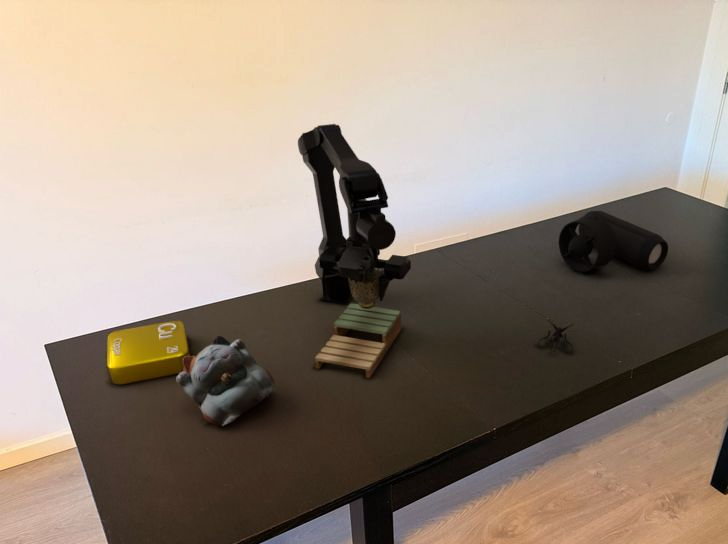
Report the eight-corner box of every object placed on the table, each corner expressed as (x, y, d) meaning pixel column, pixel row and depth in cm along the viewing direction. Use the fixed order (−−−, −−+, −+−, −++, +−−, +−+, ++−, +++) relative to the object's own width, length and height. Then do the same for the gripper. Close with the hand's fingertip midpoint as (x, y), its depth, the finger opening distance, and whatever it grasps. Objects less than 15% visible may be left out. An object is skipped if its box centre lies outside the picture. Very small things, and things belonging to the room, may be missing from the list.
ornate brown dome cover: (378, 316, 139) (376, 283, 134) (345, 312, 140) (342, 279, 135) (388, 300, 145) (386, 267, 140) (356, 296, 146) (354, 263, 141)
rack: (315, 368, 135) (313, 348, 133) (352, 321, 152) (350, 302, 149) (369, 378, 133) (368, 357, 130) (401, 329, 149) (400, 310, 146)
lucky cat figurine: (207, 437, 116) (165, 371, 112) (205, 421, 128) (166, 360, 123) (283, 394, 120) (244, 329, 116) (274, 382, 131) (239, 322, 127)
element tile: (112, 348, 140) (106, 329, 137) (186, 335, 145) (182, 316, 142) (112, 387, 129) (105, 367, 126) (192, 371, 134) (187, 351, 131)
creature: (569, 362, 141) (577, 337, 147) (571, 344, 137) (579, 319, 143) (534, 355, 143) (542, 330, 149) (535, 337, 140) (543, 313, 145)
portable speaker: (666, 268, 179) (673, 234, 174) (642, 277, 174) (649, 242, 169) (597, 236, 196) (602, 205, 191) (574, 244, 191) (578, 211, 186)
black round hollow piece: (551, 216, 170) (576, 207, 176) (546, 266, 178) (570, 256, 184) (595, 233, 161) (620, 223, 167) (587, 285, 169) (611, 274, 175)
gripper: (303, 240, 128) (310, 309, 137) (393, 252, 124) (395, 323, 133) (326, 219, 137) (332, 285, 146) (411, 230, 133) (411, 297, 142)
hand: (366, 297), depth 141 cm, fingers closed on ornate brown dome cover, 6 cm apart
